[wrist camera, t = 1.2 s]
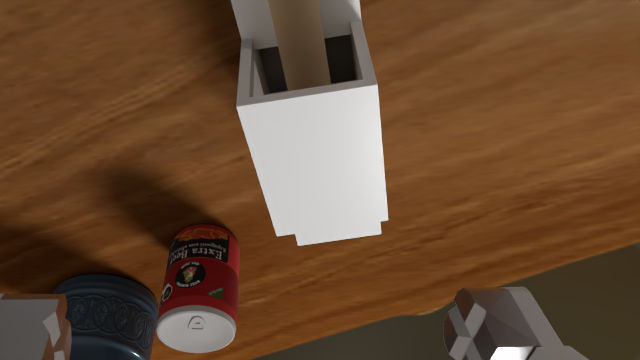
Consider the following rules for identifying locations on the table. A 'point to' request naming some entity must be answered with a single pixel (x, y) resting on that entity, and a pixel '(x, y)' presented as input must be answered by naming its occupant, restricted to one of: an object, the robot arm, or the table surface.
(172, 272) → the canned food
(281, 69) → the tunnel deck
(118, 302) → the canister
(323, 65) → the stick
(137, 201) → the table surface
